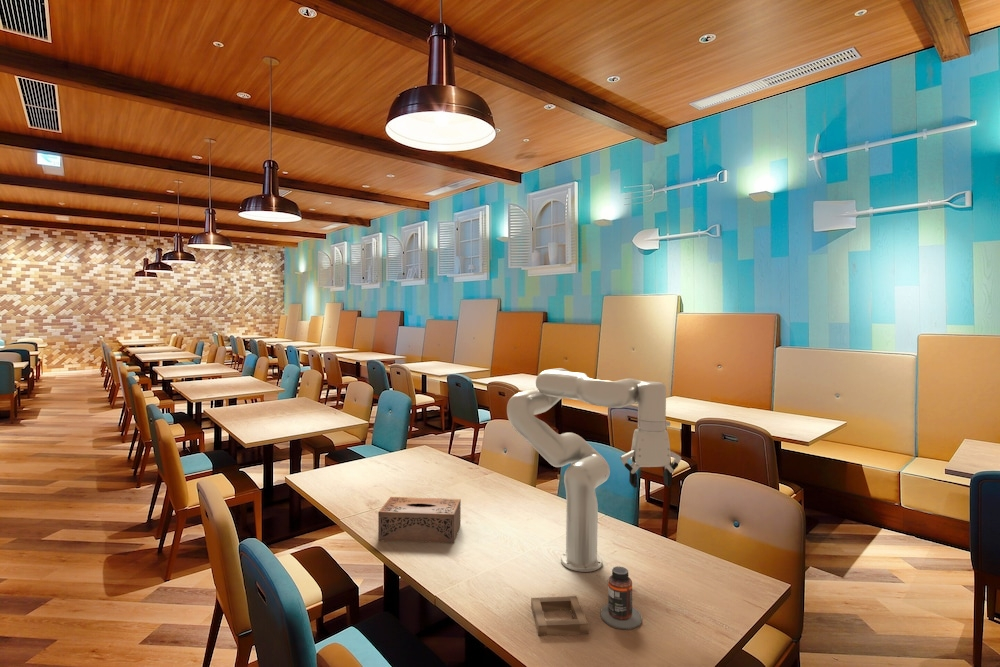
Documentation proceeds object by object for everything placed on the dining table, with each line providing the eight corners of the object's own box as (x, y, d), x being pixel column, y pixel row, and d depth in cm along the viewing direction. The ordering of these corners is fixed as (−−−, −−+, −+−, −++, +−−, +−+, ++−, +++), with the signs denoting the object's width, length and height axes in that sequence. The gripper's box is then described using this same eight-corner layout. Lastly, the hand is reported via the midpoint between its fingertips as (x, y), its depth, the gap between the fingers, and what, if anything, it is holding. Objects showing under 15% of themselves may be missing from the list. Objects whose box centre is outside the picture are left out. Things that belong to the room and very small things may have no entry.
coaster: (596, 606, 133) (596, 603, 132) (633, 605, 133) (633, 602, 133) (607, 630, 123) (607, 627, 123) (647, 628, 123) (647, 625, 123)
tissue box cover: (378, 541, 171) (378, 511, 171) (390, 523, 185) (390, 496, 185) (454, 544, 169) (454, 514, 169) (460, 526, 184) (460, 499, 183)
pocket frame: (531, 607, 132) (531, 597, 132) (576, 605, 133) (576, 596, 133) (538, 636, 120) (538, 625, 120) (588, 633, 121) (588, 623, 121)
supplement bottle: (628, 607, 131) (629, 564, 131) (635, 621, 125) (636, 575, 125) (605, 607, 131) (606, 564, 131) (611, 621, 125) (612, 576, 125)
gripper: (675, 422, 147) (674, 481, 148) (617, 423, 146) (616, 482, 146) (687, 428, 140) (685, 489, 140) (625, 429, 138) (624, 491, 139)
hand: (650, 485), depth 143 cm, fingers open, 9 cm apart
